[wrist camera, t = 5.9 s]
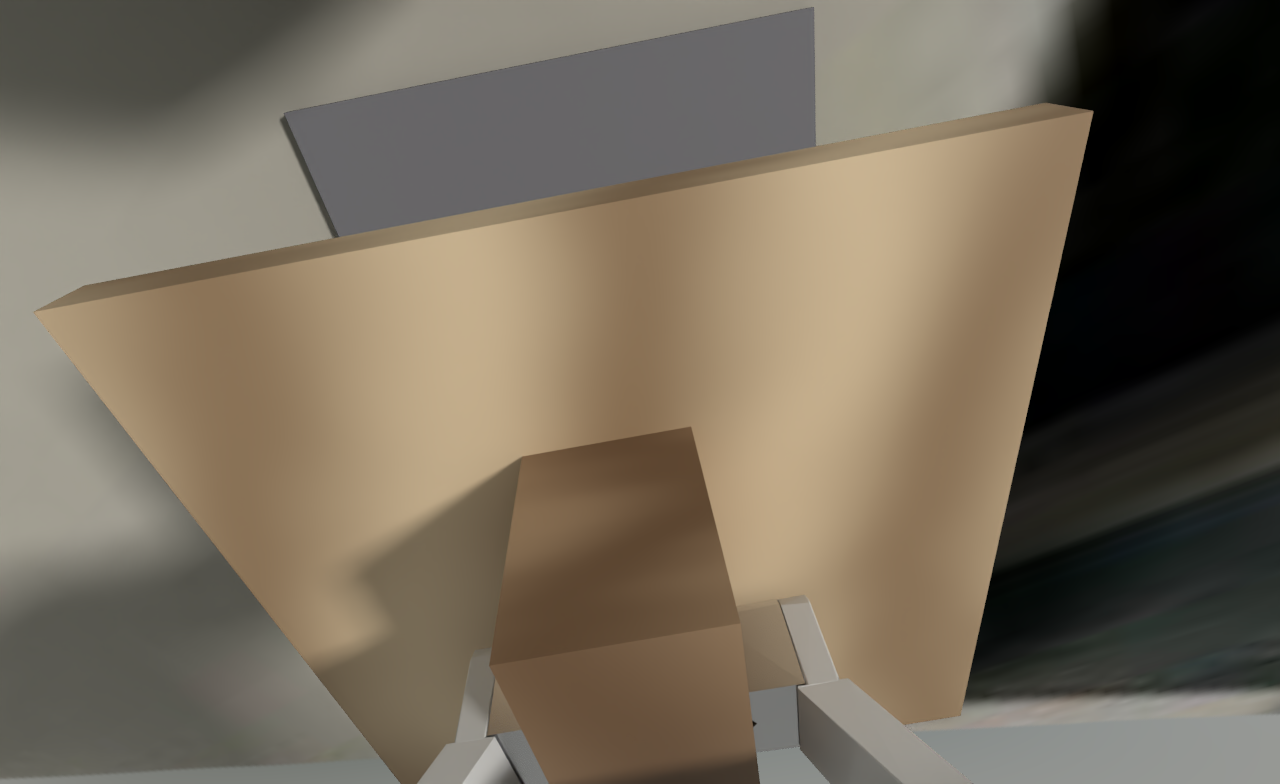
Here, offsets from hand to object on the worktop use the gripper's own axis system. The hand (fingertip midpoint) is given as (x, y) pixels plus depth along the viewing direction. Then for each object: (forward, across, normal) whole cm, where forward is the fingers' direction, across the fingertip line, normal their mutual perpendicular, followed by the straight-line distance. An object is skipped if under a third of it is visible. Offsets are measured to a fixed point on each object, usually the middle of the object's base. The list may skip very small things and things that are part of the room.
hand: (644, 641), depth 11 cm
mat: (+16, +1, 0) cm, 16 cm away
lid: (+2, 0, 0) cm, 2 cm away
